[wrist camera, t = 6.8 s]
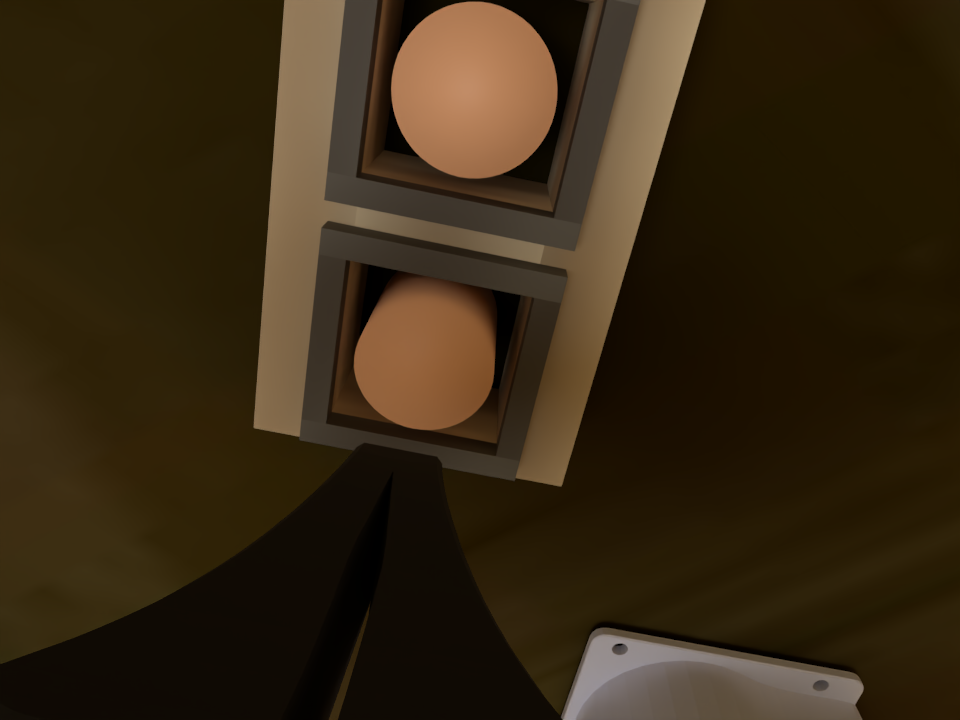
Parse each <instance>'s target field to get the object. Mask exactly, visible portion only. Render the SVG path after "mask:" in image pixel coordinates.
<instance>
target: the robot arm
mask: <svg viewBox="0 0 960 720" xmlns="http://www.w3.org/2000/svg"><path fill="white" fill-rule="evenodd" d="M370 601H371V602H370ZM369 604H370V610H369V617H368V620H367V624H366V627H365V631H364V634H363V638H362V641H361V645H360V648H359V652H358V655H357V659H356V662H355V665H354V669H353V672H352V676H351V679H350V682H349V686H348V689H347V692H346V696H345V699H344V702H343V705H342V708H341V712H340V715H339V718H338V720H862V718H861V716H860V714H859V712H858V710H857V708H856V706H855V704H856V702H857V701H858V699H859V697H860V696H861V694H862V692H863V689H864V687H863V684H862V682H861V680H860V678H859V677H858V676H857V675H856V674H855V673H852V672H847V671H842V670H836V669H831V668H825V667H820V666H814V665H809V664H803V663H798V662H793V661H787V660H782V659H776V658H771V657H765V656H760V655H754V654H749V653H743V652H738V651H732V650H727V649H721V648H716V647H710V646H705V645H699V644H694V643H689V642H683V641H678V640H672V639H667V638H661V637H656V636H650V635H645V634H639V633H634V632H628V631H623V630H617V629H612V628H599V629H596V630H595V631H593V632H592V633H591V635H590V637H589V640H588V642H587V645H586V648H585V651H584V654H583V657H582V659H581V662H580V665H579V668H578V671H577V673H576V676H575V679H574V682H573V685H572V688H571V690H570V693H569V696H568V699H567V702H566V704H565V707H564V710H563V713H562V716H561V717H560V716H559V715H558V713H557V712H556V711H555V710H554V708H553V707H552V706H551V704H550V703H549V702H548V701H547V699H546V698H545V697H544V695H543V694H542V692H541V691H540V690H539V688H538V687H537V685H536V684H535V682H534V681H533V680H532V678H531V677H530V675H529V674H528V672H527V671H526V669H525V668H524V667H523V665H522V664H521V662H520V661H519V659H518V658H517V657H516V655H515V654H514V652H513V651H512V649H511V647H510V646H509V644H508V642H507V641H506V639H505V637H504V636H503V634H502V632H501V630H500V629H499V627H498V625H497V624H496V622H495V620H494V618H493V616H492V614H491V612H490V611H489V609H488V607H487V605H486V603H485V601H484V599H483V597H482V595H481V593H480V591H479V589H478V586H477V584H476V582H475V580H474V577H473V575H472V573H471V570H470V568H469V565H468V563H467V561H466V558H465V556H464V553H463V550H462V548H461V545H460V542H459V539H458V536H457V533H456V530H455V527H454V524H453V520H452V517H451V514H450V510H449V506H448V502H447V498H446V493H445V488H444V483H443V475H442V463H441V461H440V460H439V459H438V457H437V456H432V455H426V454H421V453H416V452H411V451H406V450H400V449H395V448H390V447H385V446H380V445H374V444H369V443H363V444H361V445H359V446H358V447H356V449H355V450H354V451H353V452H352V454H351V455H350V456H349V457H348V458H347V459H346V461H345V462H344V463H343V464H342V465H341V466H340V467H339V468H338V469H337V470H336V471H335V472H334V473H333V474H332V475H331V476H330V477H329V478H328V479H327V480H326V481H325V482H324V483H323V484H322V485H321V486H320V487H319V488H318V489H317V490H316V491H315V492H314V493H313V494H312V495H311V496H309V497H308V498H307V499H306V500H305V501H304V502H303V503H302V504H301V505H300V506H298V507H297V508H296V509H295V510H294V511H293V512H291V513H290V514H289V515H288V516H286V517H285V518H284V519H283V520H282V521H280V522H279V523H278V524H277V525H275V526H274V527H273V528H272V529H270V530H269V531H268V532H267V533H265V534H264V535H263V536H261V537H260V538H259V539H257V540H256V541H255V542H253V543H252V544H251V545H249V546H248V547H246V548H245V549H244V550H242V551H241V552H239V553H238V554H236V555H235V556H233V557H232V558H230V559H229V560H227V561H226V562H224V563H223V564H221V565H220V566H218V567H217V568H215V569H213V570H212V571H210V572H208V573H207V574H205V575H203V576H201V577H200V578H198V579H196V580H195V581H193V582H191V583H189V584H188V585H186V586H184V587H183V588H181V589H179V590H177V591H176V592H174V593H172V594H170V595H168V596H166V597H164V598H163V599H161V600H159V601H157V602H155V603H153V604H151V605H149V606H147V607H144V608H142V609H140V610H138V611H136V612H134V613H132V614H129V615H127V616H125V617H123V618H121V619H118V620H116V621H114V622H111V623H109V624H107V625H104V626H102V627H100V628H97V629H95V630H93V631H90V632H88V633H85V634H83V635H80V636H78V637H75V638H73V639H70V640H67V641H65V642H62V643H59V644H56V645H53V646H51V647H48V648H45V649H42V650H39V651H37V652H34V653H31V654H28V655H25V656H23V657H20V658H17V659H14V660H11V661H9V662H6V663H2V664H0V720H329V717H330V714H331V711H332V708H333V706H334V703H335V700H336V697H337V694H338V692H339V689H340V686H341V683H342V680H343V678H344V675H345V672H346V669H347V666H348V664H349V661H350V658H351V655H352V652H353V650H354V647H355V644H356V641H357V638H358V635H359V633H360V630H361V627H362V624H363V621H364V618H365V616H366V613H367V610H368V607H369ZM621 643H622V644H623V645H621V646H615V645H616V644H621ZM819 680H820V681H819ZM816 681H818V682H816Z"/></svg>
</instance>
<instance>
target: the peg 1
mask: <svg viewBox="0 0 960 720" xmlns="http://www.w3.org/2000/svg"><path fill="white" fill-rule="evenodd" d="M557 89H558V88H557V77H556V72H555V67H554V64H553V61H552V58H551V55H550V53H549V51H548V49H547V47H546V45H545V43H544V42H543V40H542V39H541V37H540V36H539V34H538V33H537V32H536V31H535V30H534V28H533V27H532V26H531V25H530V24H529V23H527V22H526V21H525V20H524V19H523V18H522V17H520V16H518V15H517V14H515V13H514V12H512V11H510V10H508V9H506V8H504V7H501V6H498V5H495V4H491V3H485V2H463V3H456V4H453V5H450V6H446V7H444V8H442V9H440V10H438V11H436V12H434V13H432V14H431V15H429V16H428V17H426V18H425V19H424V20H423V21H422V22H420V23H419V24H418V25H417V26H416V27H415V28H414V30H413V31H412V32H411V33H410V34H409V36H408V37H407V39H406V40H405V42H404V43H403V45H402V47H401V49H400V51H399V53H398V56H397V59H396V62H395V65H394V69H393V74H392V84H391V95H392V104H393V110H394V114H395V117H396V120H397V123H398V125H399V128H400V130H401V132H402V134H403V136H404V137H405V139H406V141H407V142H408V143H409V145H410V146H411V147H412V149H413V150H414V151H415V152H416V153H417V154H418V155H419V156H420V157H421V158H422V159H423V160H425V161H426V162H427V163H429V164H430V165H431V166H433V167H435V168H437V169H438V170H440V171H443V172H445V173H447V174H450V175H454V176H457V177H463V178H487V177H492V176H496V175H500V174H502V173H505V172H507V171H510V170H511V169H513V168H515V167H517V166H518V165H520V164H521V163H522V162H524V161H525V160H526V159H528V158H529V157H530V156H531V155H532V154H533V153H534V152H535V150H536V149H537V148H538V147H539V145H540V144H541V143H542V141H543V140H544V138H545V136H546V134H547V133H548V130H549V128H550V126H551V124H552V121H553V117H554V114H555V110H556V104H557Z"/></svg>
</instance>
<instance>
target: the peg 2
mask: <svg viewBox="0 0 960 720" xmlns="http://www.w3.org/2000/svg"><path fill="white" fill-rule="evenodd" d="M496 334H497V305H496V301H495V297H494V295H493V293H492V290H491V289H488V288H483V287H478V286H473V285H468V284H463V283H458V282H453V281H448V280H443V279H438V278H434V277H429V276H424V275H419V274H414V273H409V272H404V271H399V270H398V271H397V272H396V273H395V274H394V275H393V276H392V277H391V279H390V280H389V281H388V283H387V284H386V286H385V288H384V290H383V292H382V294H381V296H380V298H379V300H378V302H377V304H376V306H375V308H374V310H373V312H372V314H371V316H370V318H369V320H368V322H367V324H366V326H365V328H364V330H363V332H362V334H361V337H360V339H359V341H358V344H357V346H356V350H355V355H354V371H355V376H356V380H357V383H358V386H359V388H360V390H361V392H362V394H363V396H364V397H365V398H366V400H367V401H368V403H369V404H370V405H371V406H372V407H373V408H374V409H375V410H376V411H377V412H379V413H380V414H381V415H383V416H384V417H386V418H387V419H389V420H391V421H393V422H395V423H397V424H399V425H402V426H405V427H409V428H413V429H420V430H436V429H442V428H447V427H450V426H453V425H456V424H458V423H460V422H462V421H464V420H466V419H467V418H469V417H470V416H471V415H473V414H474V413H475V412H476V411H477V410H478V409H479V408H480V407H481V406H482V404H483V403H484V401H485V400H486V398H487V397H488V394H489V392H490V390H491V387H492V384H493V378H494V367H495V351H496Z"/></svg>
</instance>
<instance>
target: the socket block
mask: <svg viewBox="0 0 960 720" xmlns="http://www.w3.org/2000/svg"><path fill="white" fill-rule="evenodd" d="M576 1H580V2H585V3H589V8H588V12H587V16H586V21H585V25H584V29H583V33H582V38H581V42H580V46H579V50H578V55H577V59H576V63H575V67H574V72H573V76H572V80H571V84H570V89H569V93H568V97H567V101H566V106H565V110H564V114H563V118H562V123H561V127H560V131H559V135H558V140H557V144H556V148H555V152H554V157H553V161H552V165H551V169H550V174H549V178H548V182H547V184H544V183H539V182H535V181H530V180H525V179H520V178H515V177H511V176H506V175H501V174H500V175H496V176H492V177H487V178H463V177H457V176H454V175H450V174H447V173H445V172H443V171H440V170H438V169H437V168H435V167H433V166H431V165H430V164H429V163H427V162H426V161H425V160H423V159H422V158H420V157H415V156H410V155H405V154H401V153H396V152H391V151H386V150H384V149H385V142H386V134H387V127H388V120H389V112H390V105H391V98H392V95H391V84H392V74H393V69H394V65H395V62H396V59H397V54H398V46H399V39H400V32H401V24H402V17H403V10H404V2H405V0H285V2H284V16H283V30H282V43H281V57H280V71H279V85H278V99H277V113H276V126H275V140H274V154H273V168H272V182H271V195H270V209H269V223H268V237H267V251H266V265H265V278H264V292H263V306H262V320H261V334H260V347H259V361H258V375H257V389H256V403H255V416H254V428H257V429H262V430H268V431H273V432H278V433H283V434H289V435H294V436H299V440H302V441H307V442H312V443H318V444H323V445H328V446H333V447H339V448H344V449H349V450H355V449H356V447H358V446H359V445H361V444H363V443H369V444H374V445H380V446H385V447H390V448H395V449H400V450H406V451H411V452H416V453H421V454H426V455H432V456H437V457H438V459H439V460H440V461H441V463H442V467H444V468H449V469H454V470H459V471H465V472H470V473H475V474H480V475H486V476H491V477H496V478H501V479H507V480H512V481H515V478H519V479H524V480H530V481H535V482H540V483H545V484H551V485H556V486H562V483H563V480H564V476H565V473H566V470H567V466H568V463H569V459H570V456H571V453H572V449H573V446H574V443H575V439H576V436H577V432H578V429H579V426H580V422H581V419H582V416H583V412H584V409H585V406H586V402H587V399H588V395H589V392H590V389H591V385H592V382H593V379H594V375H595V372H596V368H597V365H598V362H599V358H600V355H601V352H602V348H603V345H604V341H605V338H606V335H607V331H608V328H609V325H610V321H611V318H612V314H613V311H614V308H615V304H616V301H617V298H618V294H619V291H620V288H621V284H622V281H623V277H624V274H625V271H626V267H627V264H628V261H629V257H630V254H631V250H632V247H633V244H634V240H635V237H636V234H637V230H638V227H639V223H640V220H641V217H642V213H643V210H644V207H645V203H646V200H647V196H648V193H649V190H650V186H651V183H652V180H653V176H654V173H655V169H656V166H657V163H658V159H659V156H660V153H661V149H662V146H663V143H664V139H665V136H666V132H667V129H668V126H669V122H670V119H671V116H672V112H673V109H674V105H675V102H676V99H677V95H678V92H679V89H680V85H681V82H682V78H683V75H684V72H685V68H686V65H687V62H688V58H689V55H690V51H691V48H692V45H693V41H694V38H695V35H696V31H697V28H698V25H699V21H700V18H701V14H702V11H703V8H704V4H705V1H706V0H576ZM369 265H374V266H379V267H384V268H389V269H394V270H399V271H404V272H409V273H414V274H419V275H424V276H429V277H434V278H438V279H443V280H448V281H453V282H458V283H463V284H468V285H473V286H478V287H483V288H488V289H493V290H498V291H503V292H508V293H513V294H518V295H521V297H520V301H519V306H518V310H517V314H516V318H515V323H514V327H513V331H512V335H511V340H510V344H509V348H508V352H507V357H506V361H505V365H504V369H503V374H502V378H501V382H500V386H499V389H496V388H491V390H490V392H489V394H488V397H487V398H486V400H485V401H484V403H483V404H482V406H481V407H480V408H479V409H478V410H477V411H476V412H475V413H474V414H473V415H471V416H470V417H469V418H467V419H466V420H464V421H462V422H460V423H458V424H456V425H453V426H450V427H447V428H442V429H436V430H420V429H413V428H409V427H405V426H402V425H399V424H397V423H395V422H393V421H391V420H389V419H387V418H386V417H384V416H383V415H381V414H380V413H379V412H377V411H376V410H375V409H374V408H373V407H372V406H371V405H370V404H369V403H368V401H367V400H366V398H365V397H364V396H363V394H362V392H361V390H360V388H359V386H358V383H357V380H356V376H355V371H354V355H355V350H356V346H357V344H358V340H359V332H360V325H361V318H362V310H363V303H364V296H365V288H366V281H367V274H368V266H369Z"/></svg>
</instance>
